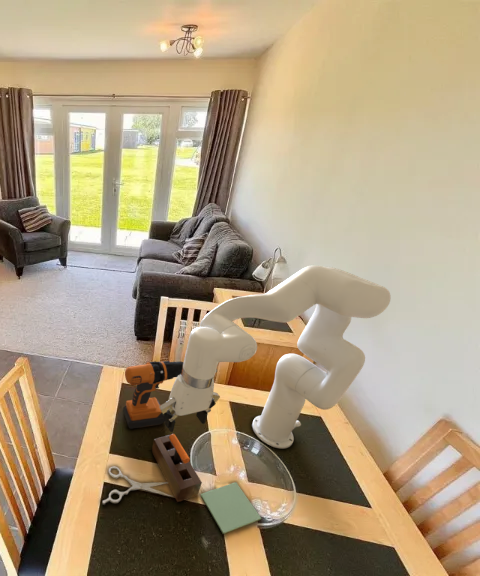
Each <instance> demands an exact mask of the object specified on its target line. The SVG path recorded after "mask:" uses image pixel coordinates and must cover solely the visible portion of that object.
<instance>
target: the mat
mask: <svg viewBox="0 0 480 576" xmlns="http://www.w3.org/2000/svg"><path fill="white" fill-rule="evenodd" d="M200 497H201V499H202V500H203V502H204V504H205V506H206V507H207V509H208V511H209V513H210V514H211V516H212V518H213V520H214V521H215V523H216V524H217V526H218V528H219V530H220V531H221V533H222V535H225V534H227V533H230V532H233V531H235V530H237V529H240V528H242V527H246V526H248V525H250V524H253V523H256V522H258V521H260V520H262V517H261V515H260V514H259V513H258V511H257V509H255V507H254V505H253V504H252V502H251V501H250V499H249V498H248V497H247V496H246V494H245V492H244V491H243V490H242V489H241V487H240V486H239V484H238V482H237V481H235V482H232V483H228V484H226V485H222V486H220V487H217V488H214V489H211V490H208V491H205V492H203V493H200Z"/></svg>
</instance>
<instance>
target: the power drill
mask: <svg viewBox="0 0 480 576" xmlns="http://www.w3.org/2000/svg"><path fill="white" fill-rule="evenodd" d="M183 363H184V361H170V360H165V361H156V360H155V361H154V360H153V361H147V362H145V364H139V365H129V366H127V367H126V368H125V370H124V378H125V380H126V383H127V384H129V385H130V386H132V387H135V386H136V387H135V388H134V391H133V394H132V399H129V400H126V401H125V406H123V409H122V413H123V415H124V419H125V421H126V424H127V427H128V428H129V429H138V428H146V427H147V428H148V427H154V426H160V425H163V423H165V419H166V417H164V415H163V414H162V412H161V410H160V408H159V406H161V405H162V404H161V402H160V401H159V399H158V398H157V397H155V396H154V397H151V393H152V392H155V391H157V390H158V389H159V388H160V387H159V385H160V384H164V382H165V381H170V380H173V379H174V378H177V377H178V375H181V372H182V367H183Z"/></svg>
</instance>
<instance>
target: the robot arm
mask: <svg viewBox="0 0 480 576" xmlns="http://www.w3.org/2000/svg"><path fill="white" fill-rule="evenodd" d="M390 302H391V293H390V291H389V289H387V287H385V286H383V285H380V284H378V283H375V282H373V281H370V280H368V279H365V278H363V277H360V276H358V275H355V274H353V273H350V272H348V271H345V270H342V269H339V268H336V267H333V266H332V267H331V266H323V265H318V264H311V265H306V266H305V267H303V268H301V269H300V270H298V271H297V272H295V273H294V274H292V275H291V276H289V277H288V278H286V279H285V280H283V281H282V282H280V283H279V284H278V285H276V286H274V287H272V289H270V290H269V291H267V292H265V293H259V294H249V295H243V296H237V297H233V298H230V299H228V300H226V301H224V302H222V303H220V304H219V305H217V306H215V307H214V308H213V309H212V310H209V312H208V313H207V314H205V316H204V317H203V318H202V319H201V321H200V322H199V327H195V328H193V329H192V330H191V332H190V333H189V335H188V340H187V345H186V350H185V353H184V354H185V355H184V358H183V362H184V363H183V367H182V372H181V375H178V377H175V380H174V382H173V384H172V386H171V390H170V393H169V396H168V400H167V401H165V402H164V403H162V404H160V405H161V406H159V408H160V410H161V412H162V414H163V415H164V417H166V419H165V422H164V425H165V428H167V429H168V430H169V432H170V433H173V432H174V429H175V425H176V419H177V418H178V417H180V416H187V415H191V414H195V415H196V417H197V419H198V420H199V422H200V424H202V425H205V424H206V422H207V418H208V415H209V413H210V412H211V411H212V408H214V406H216V403H217V402H218V401H219V399H220V398H221V396H220V395H219V393H218V392H215V391H214V390H215V380H214V379H215V375H216V373H218V365H219V363H241V362H246V361H248V360H250V359H252V357H254V356H255V355H256V353H257V350H258V343H257V341H256V339H255V338H254V337H253V335H251V334H250V333H249V332H247V331H246V330H244V329H243V328H242V327H241V326H239V325H237V323H235V321H236V320H239V319H247V318H249V319H250V318H252V319H259V320H264V321H270V322H275V323H276V322H277V323H289V322H292V321H293V320H295V319H296V318H297V317H299V316H301V315H302V314H304V313H305V312H306V311H309V309H311V308H312V307H313V306H315V308H314V311H313V313H312V315H311V317H310V318H309V320H308V322H307V323H306V325H305V327H304V328H303V330H302V332H301V334H300V336H299V338H298V339H297V343H296V346H297V347H296V348H297V349H298V350H299V352H301V353H302V354H303V355H305V356H306V357H307V358H309V359H310V360H308V359H307V358H306V357H304V356H302V355H300V354H297V353H292V352H291V353H286V354H284V355H282V356H281V357H280V358H279V360H278V361H277V362H276V366H275V371H274V378H273V379H274V380H273V384H272V386H271V389H270V391H269V394H268V397H267V399H266V401H265V403H264V407H263V408H262V412H261V415H257V416H255V417H254V419H253V421H252V424H251V427H252V430H253V432H254V434H255V435H256V436H257V438H258V439H259V440H260V441H262V443H264V444H266V445H269V446H271V447H273V448H276V449H288V448H290V447H291V446H292V445H293V443H294V440H295V438H294V434H293V430H295V429H296V428H299V427H301V426H302V423H301V421H300V420H298V419H299V416H300V414H301V412H302V410H303V408H304V407H305V404H306V401H308V402H309V403H310V404H311V405H313V406H314V407H316V408H317V409H320V410H325V411H326V410H330V409H332V408H334V407H335V406H336V405H337V404H338V403H339V402H340V401H341V399H342V398H343V397H344V395H345V393H347V391H348V390H349V388H350V387H351V385H352V384H353V382H354V381H355V380H356V378H357V377H358V375H359V374H360V372H361V371H362V369H363V367H364V366H365V363H366V354H365V353H364V351H363V350H362V349H361V348H360V347H359V346H357V345H356V344H353V343H351V342H350V341H348V340H346V339H344V337H343V336H344V334H345V333H346V330H347V329H348V328H349V326H350V324H351V322H352V318H357V319H371V318H374V317H378V316H379V315H381V314H382V313H384V312H385V310H387V308H388V307H389V305H390ZM311 360H312V361H313V362H315V363H316V364H318V365H319V366H321V367H322V368H323V369H325V370H326V371H327V372H326V371H325V370H323V369H322V368H320V367H319V366H317V365H316V364H314V363H313V362H312V361H311ZM172 412H174V413H173V414H172Z"/></svg>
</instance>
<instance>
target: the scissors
mask: <svg viewBox="0 0 480 576" xmlns="http://www.w3.org/2000/svg"><path fill="white" fill-rule="evenodd" d="M112 470H117V472H118V474H115V473H112V472H111V471H112ZM108 474H109V476H110V477H112V478H114V479H118V478H122V479H125V480H126V481H127V482H128V483H129V485H131V486H130V487H129V488H128V489H127V490H125V491H119V490H118V489H113V490H111V491H110V492H109V494H108V497H107V498H106V499H102V505H106V504H107V503H109V502H110V503H112V504H118V503H119V502H121V500H122V498H123V497H124V495H128V494H129V493H130V492H131V491H137V490H143V491H147V492H151V493H154V494H159V495H162V496H167V497H172V498H173V497H174V495H170V494H168V493H165V492H163V491H160V490H158V489H156V488H154V487H156V486H161V485H165V484H168V482H167V481H165V482H164V481H163V482H161V481H160V482H138V481H135V480H133V479H130V478H129V477H128V475H125V474H123V473H122V471H121V469H120V468H119V467H118V466H114V465H112V466H110V467H109V468H108ZM113 494H117V495H118V497H119V498H117V499H113V498H112V495H113Z"/></svg>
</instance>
